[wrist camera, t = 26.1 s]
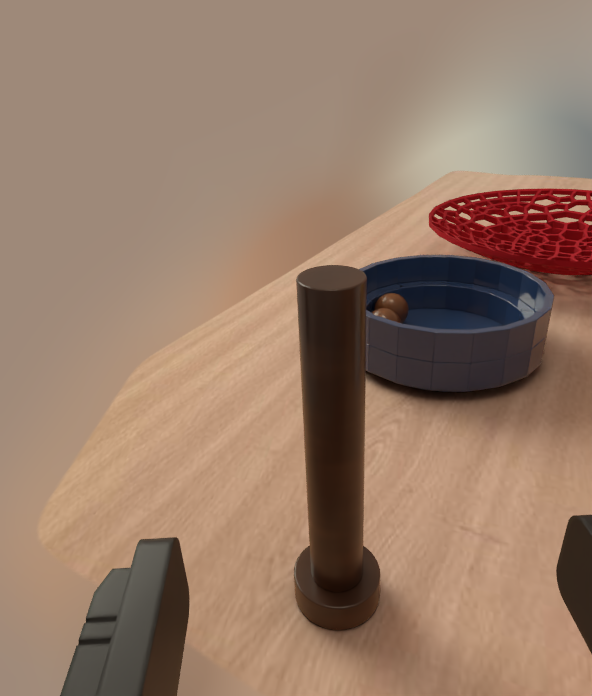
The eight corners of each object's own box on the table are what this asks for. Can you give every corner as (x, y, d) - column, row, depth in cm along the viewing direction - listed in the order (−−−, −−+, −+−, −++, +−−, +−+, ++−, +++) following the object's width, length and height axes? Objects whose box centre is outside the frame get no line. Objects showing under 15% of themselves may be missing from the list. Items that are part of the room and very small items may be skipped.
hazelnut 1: (363, 313, 49) (387, 294, 47) (373, 299, 51) (397, 281, 49) (385, 338, 49) (411, 321, 47) (394, 323, 51) (418, 306, 49)
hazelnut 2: (369, 350, 48) (364, 317, 48) (404, 344, 47) (398, 311, 48) (366, 341, 45) (361, 306, 46) (403, 335, 44) (397, 300, 45)
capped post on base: (285, 620, 25) (256, 295, 18) (307, 552, 29) (291, 255, 21) (372, 639, 24) (382, 303, 17) (384, 566, 28) (397, 259, 20)
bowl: (390, 287, 60) (392, 242, 57) (460, 217, 82) (463, 182, 80) (725, 337, 46) (745, 281, 44) (699, 238, 69) (711, 197, 67)
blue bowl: (336, 396, 41) (335, 330, 39) (348, 307, 56) (348, 254, 53) (566, 405, 39) (581, 335, 36) (518, 309, 53) (527, 254, 51)
